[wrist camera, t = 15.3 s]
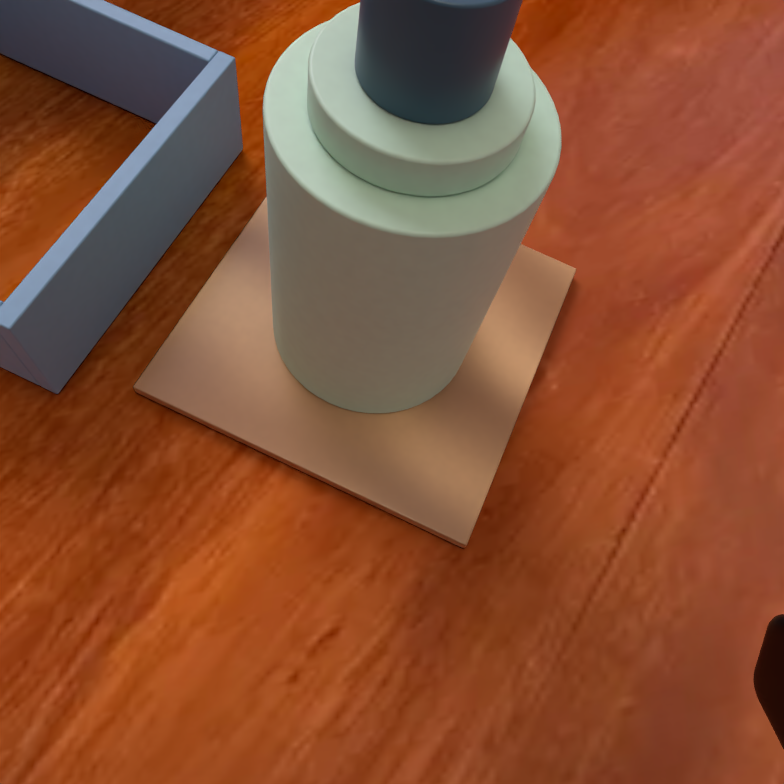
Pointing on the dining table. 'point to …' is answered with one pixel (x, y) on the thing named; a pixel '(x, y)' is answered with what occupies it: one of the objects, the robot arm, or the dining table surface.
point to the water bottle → (399, 191)
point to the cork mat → (350, 428)
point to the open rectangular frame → (129, 183)
